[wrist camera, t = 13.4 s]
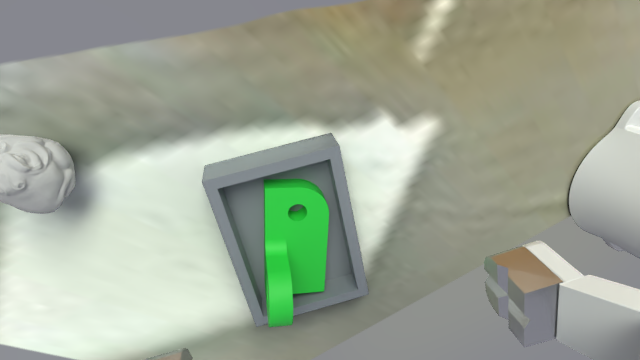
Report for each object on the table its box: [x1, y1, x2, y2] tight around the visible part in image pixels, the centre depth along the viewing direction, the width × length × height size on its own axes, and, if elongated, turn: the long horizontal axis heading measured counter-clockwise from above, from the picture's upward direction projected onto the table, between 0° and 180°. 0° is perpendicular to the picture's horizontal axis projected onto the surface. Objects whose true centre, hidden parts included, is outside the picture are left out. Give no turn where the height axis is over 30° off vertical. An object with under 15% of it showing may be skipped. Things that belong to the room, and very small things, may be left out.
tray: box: [202, 133, 369, 327], centre depth 41 cm, size 12×17×4 cm
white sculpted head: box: [0, 134, 76, 214], centre depth 32 cm, size 6×7×7 cm
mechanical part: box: [264, 179, 329, 327], centre depth 39 cm, size 12×6×8 cm, turn 177°
